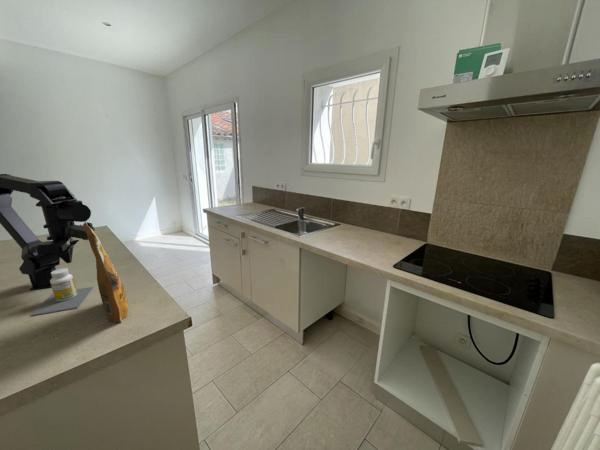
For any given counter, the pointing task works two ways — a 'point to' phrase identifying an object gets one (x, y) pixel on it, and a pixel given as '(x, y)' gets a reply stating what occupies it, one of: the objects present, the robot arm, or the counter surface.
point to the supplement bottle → (63, 284)
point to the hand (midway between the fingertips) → (69, 262)
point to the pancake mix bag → (108, 281)
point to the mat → (62, 303)
